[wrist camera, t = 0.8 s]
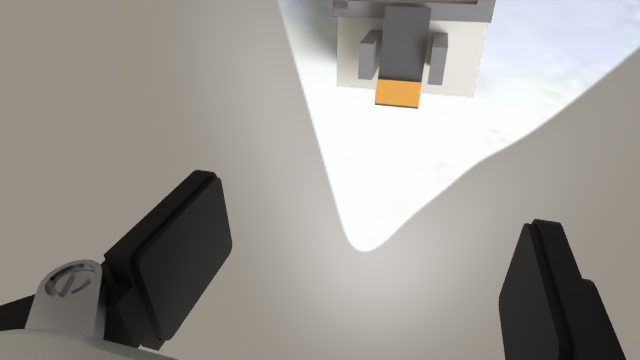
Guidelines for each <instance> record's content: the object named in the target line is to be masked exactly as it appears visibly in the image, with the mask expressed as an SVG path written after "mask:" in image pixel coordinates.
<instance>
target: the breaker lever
mask: <svg viewBox="0 0 640 360" xmlns="http://www.w3.org/2000/svg"><path fill="white" fill-rule="evenodd" d="M431 11H432V8H427V7H395V6H386V8H385V18H384V27H383V36H382V45H381V54H380V64H379V73H378V79H377V86H376V95H375V105H383V106H394V107H405V108H416V109H418V106H419V99H420V91H421V84H422V77H423V70H424V62H425V55H426V48H427V40H428V33H429V26H430V19H431Z"/></svg>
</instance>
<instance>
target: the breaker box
mask: <svg viewBox="0 0 640 360" xmlns="http://www.w3.org/2000/svg"><path fill="white" fill-rule="evenodd" d="M495 1H496V0H333V17H338V22H337V86H339V87H351V88H363V89H375V90H376V86H377V79H378V73H379V64H380V54H381V45H382V36H383V27H384V18H385V8H386V6H395V7H427V8H432V11H431V19H430V26H429V33H428V40H427V48H426V55H425V62H424V70H423V77H422V84H421V91H420V93H424V94H436V95H449V96H461V97H473V95H474V90H475V85H476V80H477V75H478V71H479V66H480V61H481V56H482V51H483V47H484V42H485V37H486V32H487V27H488V23H491V20H492V15H493V10H494V6H495Z"/></svg>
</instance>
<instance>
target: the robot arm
mask: <svg viewBox="0 0 640 360" xmlns="http://www.w3.org/2000/svg"><path fill="white" fill-rule="evenodd" d="M231 249H232V239H231V233H230V228H229V222H228V216H227V211H226V205H225V199H224V194H223V188H222V183H221V180H220V178H218V177H217V176H216V174H215V173H214V172H209V171H201V170H195V171H193V172H192V173H191V174H190V175H189V176H188V177H187V178H186V179H185V180H184V181H183V182H182V183H180V184H179V186H177V187H176V188H175V189H174V190H173V191H172V192H171V193H170V194H169V195H168V196H166V197H165V198H164V199H163V200H162V201H161V202H160V203H159V204H158V205H157V206H156V207H155V208H154V209H153V210H151V211H150V212H149V213H148V214H147V215H146V216H145V217H144V218H143V219H142V220H141V221H140V222H139V223H138V224H136V225H135V226H134V227H133V228H132V229H131V230H130V231H129V232H128V233H127V234H126V235H125V236H124V237H122V238H121V239H120V240H119V241H118V242H117V243H116V244H115V245H114V246H113V247H112V248H111V249H109V250H108V251H107V252H106V253H105V254H104V257H105V259H106V260H105V261H104V262H103V263H102V264H99V263H98V262H95V261H93V260H85V259H84V260H77V261H73V262H70V263H66V264H64V265H62V266H60V267H58V268H56V269H55V270H53V271H52V272H50V273H49V274H48V275H47V276H46V277H45V278H44V279H43V280H42V281H41V283H40V285H39V286H38V289H37V292H36V294H34V295H32V296H28V297H25V298H23V299H20V300H16V301H14V302H10V303H7V304H5V305H1V306H0V360H178V359H174V358H170V357H167V356H163V355H159V354H155V353H152V352H148V351H145V350H141V349H138V347H139V346H140V344H141V345H142V346H143V347H147V348H150V349H154V350H157V351H159V349H160V348H161V346H162V345H163V343H164V342H165V341H166V340H170V339H171V338H172V337H173V336H174V334H175V333H176V332H177V330H178V329H179V327H180V326H181V324H182V322H183V321H184V320H185V318H186V317H187V316H188V314H189V313H190V311H191V310H192V308H193V307H194V305H195V304H196V302H197V301H198V299H199V298H200V297H201V295H202V294H203V292H204V291H205V289H206V288H207V286H208V285H209V283H210V282H211V281H212V279H213V278H214V276H215V275H216V273H217V272H218V270H219V269H220V267H221V266H222V265H223V263H224V262H225V260H226V259H227V257H228V256H229V254H230V252H231ZM499 313H500V321H501V329H502V336H503V344H504V352H505V359H506V360H626V358H625V356H624V353H623V351H622V348H621V346H620V344H619V341H618V339H617V336H616V334H615V331H614V329H613V327H612V324H611V322H610V319H609V317H608V315H607V312H606V310H605V307H604V305H603V302H602V300H601V297H600V295H599V293H598V290H597V288H596V286H595V284H594V283H593V282H592V281H591V280H588V279H582V277H581V274H580V272H579V269H578V266H577V264H576V262H575V259H574V256H573V253H572V251H571V248H570V246H569V243H568V240H567V238H566V235H565V232H564V230H563V227H562V225H561V223H559V222H553V221H546V220H539V219H535V220H533V222H532V224H528V223H525V224H524V226H523V228H522V231H521V234H520V237H519V240H518V243H517V246H516V249H515V252H514V255H513V258H512V260H511V263H510V266H509V269H508V272H507V275H506V278H505V281H504V284H503V287H502V290H501V293H500V296H499Z"/></svg>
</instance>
